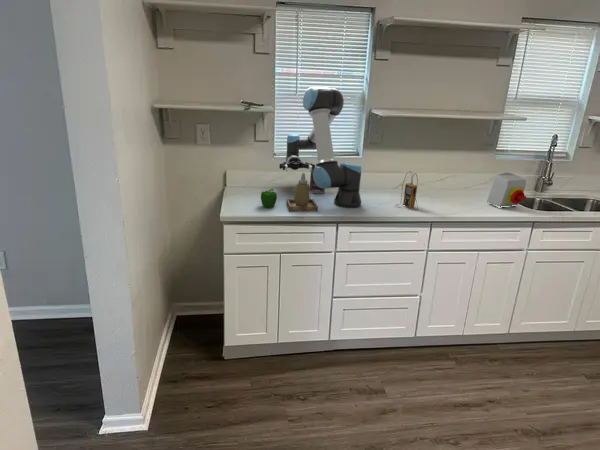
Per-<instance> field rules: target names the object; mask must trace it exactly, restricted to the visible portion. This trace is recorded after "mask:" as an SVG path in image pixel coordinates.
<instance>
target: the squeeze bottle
mask: <svg viewBox="0 0 600 450" xmlns="http://www.w3.org/2000/svg"><path fill="white" fill-rule="evenodd" d="M295 188H296V189H295V194H294V199H295V203H296V206H307V205H308V203H309V199H310V184H309V183H308V179H306V175H305V172H302V173H301V177H300V179H298V183H297V184H296V186H295Z"/></svg>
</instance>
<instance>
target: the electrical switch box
mask: <svg viewBox="0 0 600 450" xmlns="http://www.w3.org/2000/svg"><path fill="white" fill-rule="evenodd" d="M526 187H527V179H525V178H523V177H521V176H520V175H517V174H515V173H511V172H507V171H506V172H502V173H498V174H495V176H494V179H493V182H492V184H491V189H490V191H489V194H488V197H487V200H486V203H488V202H489V203H491V204H494V205H497V206H500V207H501V206H512V205H517V206H518V205H519V204H520V203H521V201H523V200H526V199H527V196H526V195H525V189H526ZM489 203H488V204H489ZM491 204H490V205H491Z"/></svg>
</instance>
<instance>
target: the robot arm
mask: <svg viewBox="0 0 600 450" xmlns="http://www.w3.org/2000/svg"><path fill="white" fill-rule="evenodd" d="M344 101H345V100H344V96H343V94H342V93H341V91H339V90H338V89H337V88H335V87H319V86H310V87H309V88H307V89H306V90H305V91H304V93H303V98H302V106H303V108H304V109H305V110H306V111H308V115H309V116H310V117H311V118H312V126H313V128H312V130H311V131H310V133H309V134H308V136H303V137H300V134H298V133H289V134H287V135H286V136H287V137H286V157H285V161H283V162H281V163H279V166H278V167H279V169H280V170H281V169H282V171H286V172H288V169H291V170H294V171H297V170H298V169H308V171H309V172H310V173H311V172H312V169H314V170H313V172H314V173H313V179H314V182H315V184H316V185H317V186H318V187H319V188H325V190H326V189H327V190H328V189H333V188H335V189H336V188H338V189H337V192H336V195H335V197H334V200H333V204H334V205H335V206H337V207H341V208H346V209H356V208H360V207H362V198H361V194H360V189H361V177H362V167H361V165H360V164H356V163H352V162H346V161H342V162H340V164H339V163H338V160H337V159H336V158H335V154H334V147H333V142H332V140H333V139H332V133H331V127H330V126H331V124H332V122H333V121H334V120H335V118H336V117H337V116H339V115H340V114H341V112H342V110H343V108H344V104H345V102H344ZM301 150H302V151H303V150H304V151H305V150H307V151H308V150H310V151H311V150H313V151H314V150H316V153H317V154H316V155H317V162H316V164H314V163H309V162H306V161H305V162H303V161H302V160H301V159H300V158H299V155H300V151H301ZM315 166H316V167H315Z"/></svg>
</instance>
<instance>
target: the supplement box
mask: <svg viewBox="0 0 600 450" xmlns="http://www.w3.org/2000/svg"><path fill="white" fill-rule="evenodd" d="M315 167H316V165H315ZM313 170H314V169H312V172H310V178H309V179H310V180H309V193H311V194H325V192H326V191H325V190H326V188H319V187H318V186H317V185H316V184H315V182H314V179H313V173H314V172H313Z"/></svg>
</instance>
